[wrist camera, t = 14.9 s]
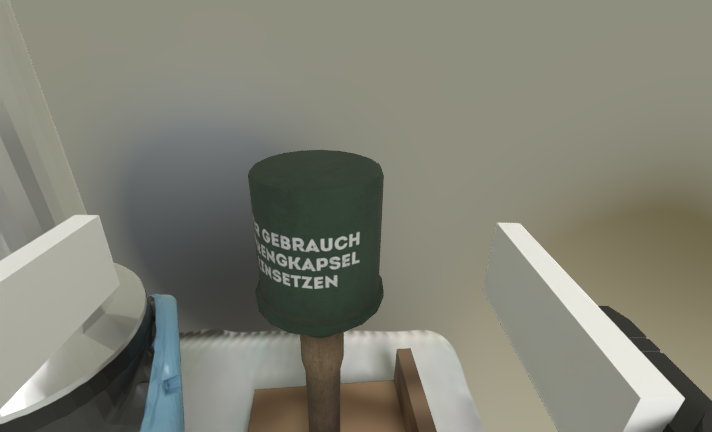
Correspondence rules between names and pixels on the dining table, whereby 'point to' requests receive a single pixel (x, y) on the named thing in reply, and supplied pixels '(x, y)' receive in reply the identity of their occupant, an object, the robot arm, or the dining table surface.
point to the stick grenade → (318, 259)
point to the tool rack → (352, 405)
